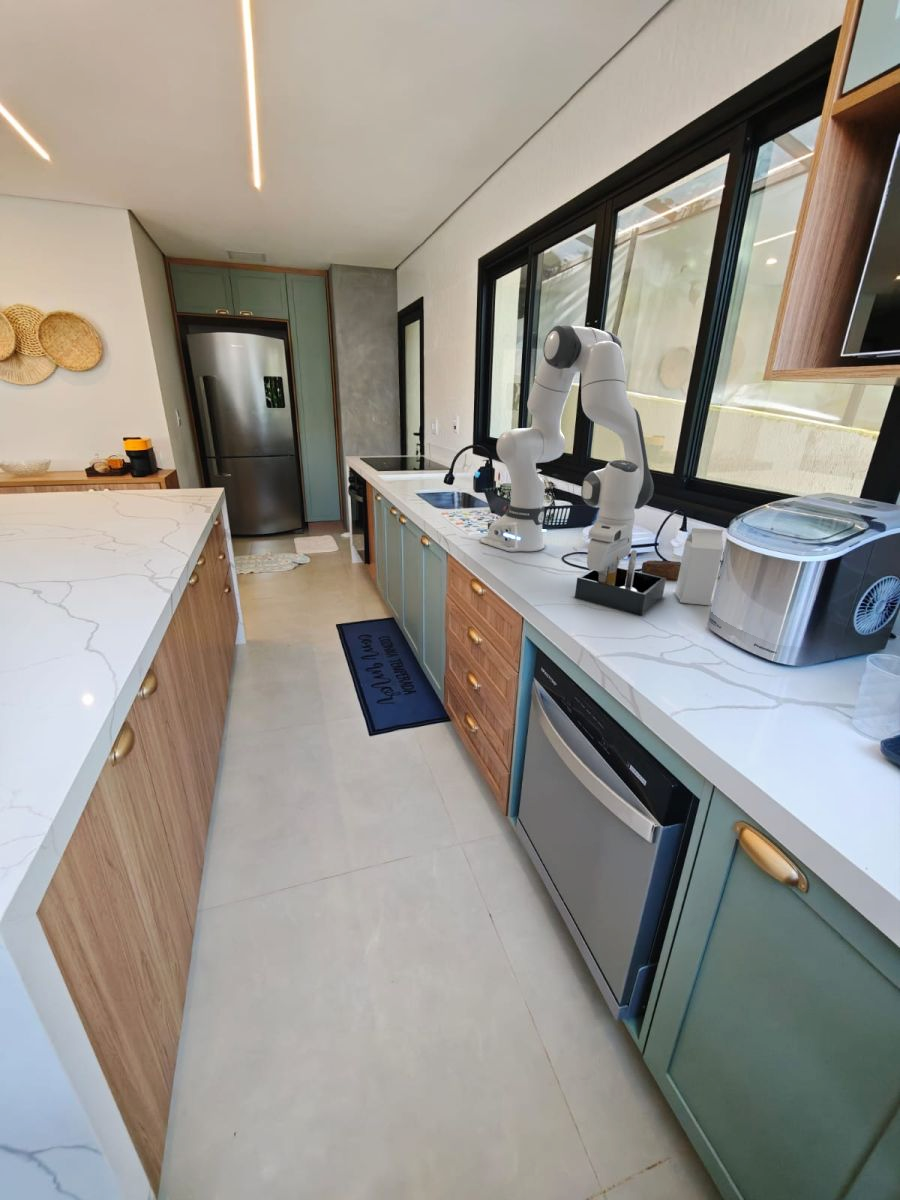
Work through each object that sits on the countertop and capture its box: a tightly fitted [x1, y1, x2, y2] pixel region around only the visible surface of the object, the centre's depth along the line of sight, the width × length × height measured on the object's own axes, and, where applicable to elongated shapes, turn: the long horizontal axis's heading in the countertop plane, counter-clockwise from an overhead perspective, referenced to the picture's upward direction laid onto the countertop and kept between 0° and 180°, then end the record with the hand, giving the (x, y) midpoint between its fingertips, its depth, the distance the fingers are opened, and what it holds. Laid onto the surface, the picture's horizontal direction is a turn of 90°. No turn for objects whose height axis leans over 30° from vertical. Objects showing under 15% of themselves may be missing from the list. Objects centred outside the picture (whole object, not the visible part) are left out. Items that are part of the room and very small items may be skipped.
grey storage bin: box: [574, 566, 667, 617], centre depth 131 cm, size 18×16×6 cm
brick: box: [641, 560, 681, 581], centre depth 147 cm, size 11×4×5 cm, turn 80°
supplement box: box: [599, 557, 618, 586], centre depth 132 cm, size 3×3×10 cm
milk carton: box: [674, 527, 724, 606], centre depth 129 cm, size 7×7×19 cm
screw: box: [621, 549, 638, 592], centre depth 128 cm, size 13×5×5 cm
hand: (606, 578), depth 133 cm, fingers closed on supplement box, 4 cm apart
